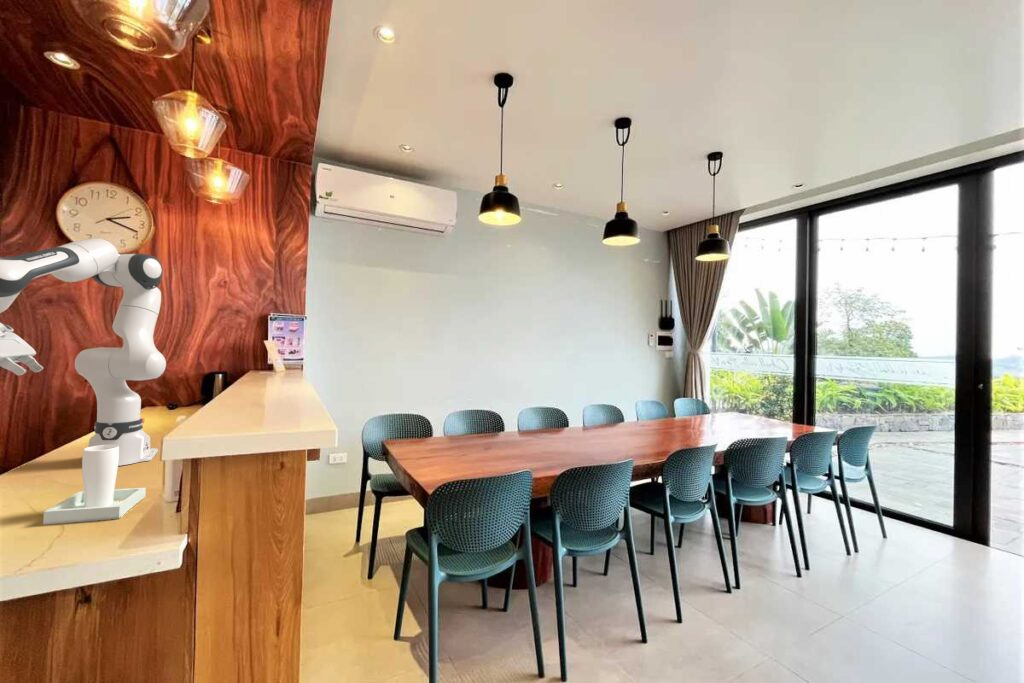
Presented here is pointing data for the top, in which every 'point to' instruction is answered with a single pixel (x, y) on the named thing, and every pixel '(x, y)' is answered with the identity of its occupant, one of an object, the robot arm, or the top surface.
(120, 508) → the tray
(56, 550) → the top surface
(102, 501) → the white tall cup
